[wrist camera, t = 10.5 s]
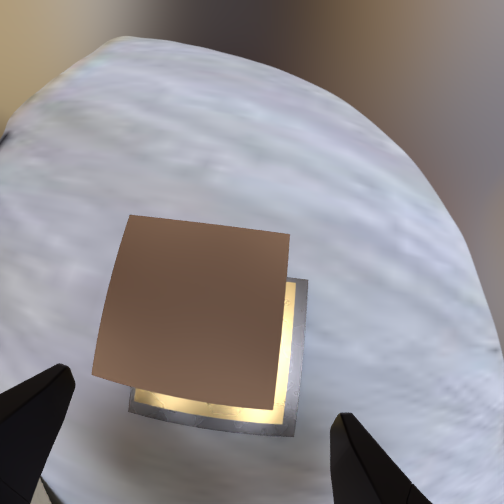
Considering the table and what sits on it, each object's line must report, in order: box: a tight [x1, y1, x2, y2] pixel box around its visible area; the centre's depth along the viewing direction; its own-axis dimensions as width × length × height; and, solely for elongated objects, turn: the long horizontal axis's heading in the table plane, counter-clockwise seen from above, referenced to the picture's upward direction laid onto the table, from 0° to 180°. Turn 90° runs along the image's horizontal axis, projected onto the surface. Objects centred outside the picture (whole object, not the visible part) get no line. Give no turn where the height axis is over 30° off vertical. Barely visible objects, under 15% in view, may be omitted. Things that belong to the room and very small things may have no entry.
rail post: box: [92, 215, 290, 410], centre depth 12 cm, size 4×4×13 cm
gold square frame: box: [128, 277, 308, 437], centre depth 17 cm, size 11×11×4 cm
